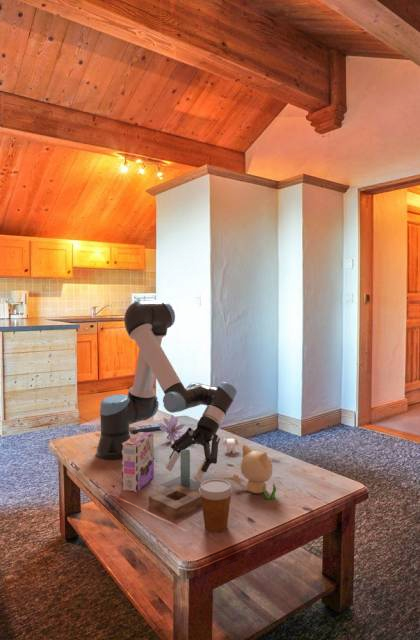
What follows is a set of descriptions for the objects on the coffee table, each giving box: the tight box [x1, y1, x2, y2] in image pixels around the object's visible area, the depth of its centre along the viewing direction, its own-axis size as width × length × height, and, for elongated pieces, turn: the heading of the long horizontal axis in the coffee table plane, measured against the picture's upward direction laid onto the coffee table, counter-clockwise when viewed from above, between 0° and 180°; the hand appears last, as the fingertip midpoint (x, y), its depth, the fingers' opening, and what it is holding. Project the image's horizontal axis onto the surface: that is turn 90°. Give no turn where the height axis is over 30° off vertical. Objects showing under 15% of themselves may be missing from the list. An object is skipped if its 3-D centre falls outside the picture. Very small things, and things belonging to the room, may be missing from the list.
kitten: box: [232, 444, 277, 500], centre depth 147 cm, size 15×10×15 cm
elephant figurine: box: [222, 437, 240, 455], centre depth 184 cm, size 7×8×6 cm
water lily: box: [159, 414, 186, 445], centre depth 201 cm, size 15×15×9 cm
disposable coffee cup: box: [198, 478, 233, 533], centre depth 125 cm, size 10×10×12 cm
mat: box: [160, 475, 202, 491], centre depth 152 cm, size 12×10×1 cm
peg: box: [179, 449, 191, 487], centre depth 151 cm, size 3×3×12 cm
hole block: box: [148, 484, 202, 520], centre depth 137 cm, size 12×12×4 cm
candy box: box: [121, 431, 155, 493], centre depth 153 cm, size 14×6×16 cm, turn 163°
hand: (181, 474), depth 149 cm, fingers open, 13 cm apart
